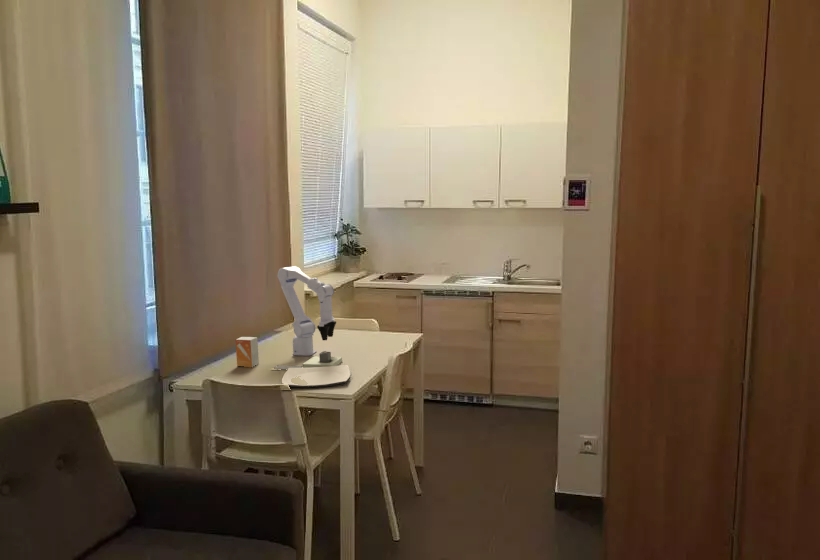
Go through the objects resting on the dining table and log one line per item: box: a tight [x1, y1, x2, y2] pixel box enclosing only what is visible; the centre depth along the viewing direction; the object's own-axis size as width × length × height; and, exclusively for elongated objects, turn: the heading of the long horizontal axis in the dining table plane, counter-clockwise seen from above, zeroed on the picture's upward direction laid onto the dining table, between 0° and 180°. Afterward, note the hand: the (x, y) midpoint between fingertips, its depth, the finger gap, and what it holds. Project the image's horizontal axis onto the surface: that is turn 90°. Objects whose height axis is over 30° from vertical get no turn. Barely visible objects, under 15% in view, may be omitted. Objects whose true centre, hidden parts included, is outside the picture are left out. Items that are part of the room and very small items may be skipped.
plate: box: [281, 364, 351, 388], centre depth 289 cm, size 29×29×3 cm
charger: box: [318, 350, 332, 363], centre depth 311 cm, size 4×4×7 cm
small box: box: [235, 336, 260, 368], centre depth 316 cm, size 8×6×13 cm
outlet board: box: [302, 355, 343, 368], centre depth 313 cm, size 14×14×2 cm
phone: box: [273, 364, 303, 370], centre depth 309 cm, size 13×7×1 cm, turn 75°
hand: (327, 338), depth 325 cm, fingers open, 7 cm apart
